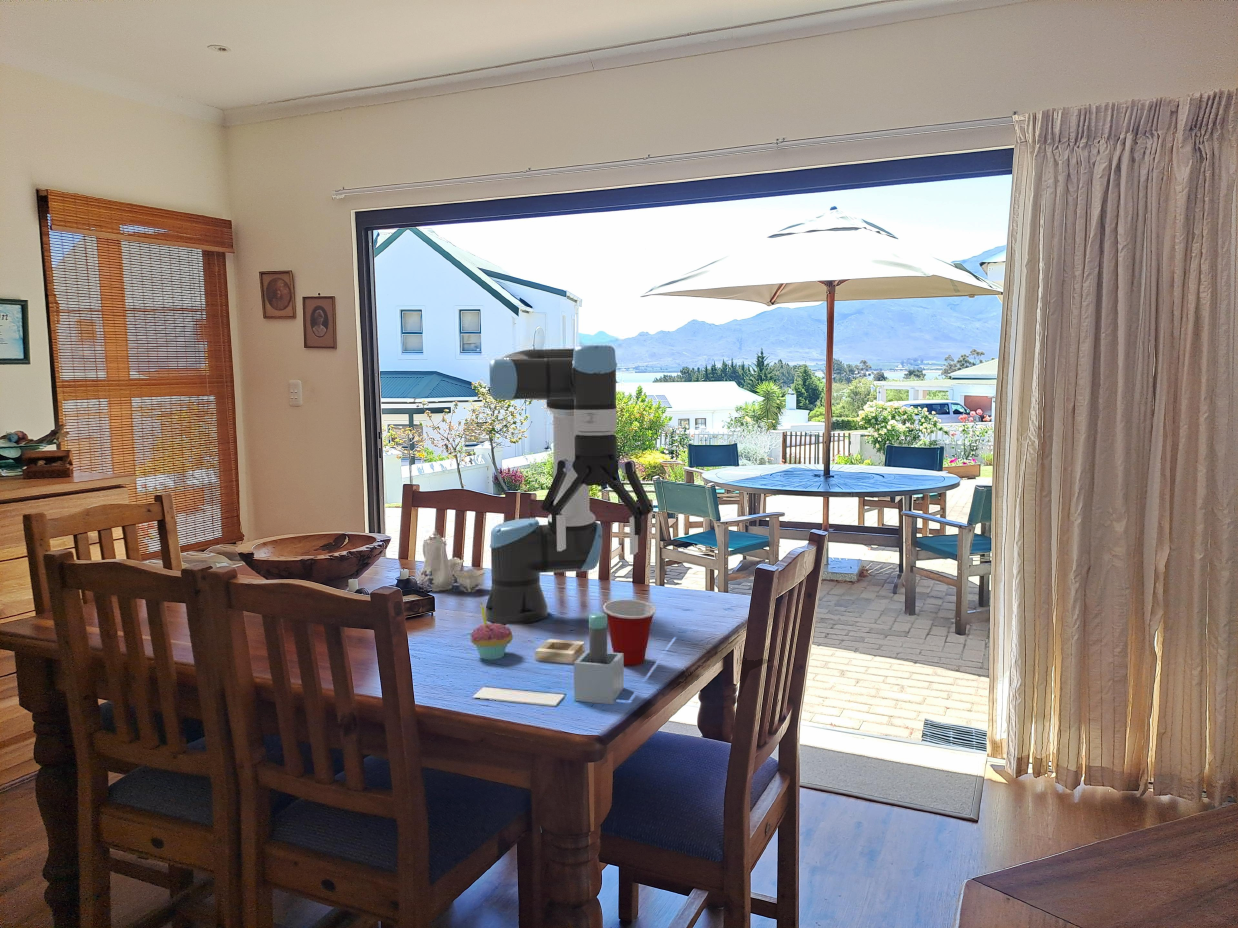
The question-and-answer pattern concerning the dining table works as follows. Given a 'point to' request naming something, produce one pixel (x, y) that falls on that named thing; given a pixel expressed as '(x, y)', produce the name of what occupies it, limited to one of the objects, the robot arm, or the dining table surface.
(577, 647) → the marker stand
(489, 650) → the cupcake
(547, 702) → the paper
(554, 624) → the dining table surface
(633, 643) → the plastic cup
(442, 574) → the chinaware
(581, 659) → the pen pot
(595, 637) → the marker
